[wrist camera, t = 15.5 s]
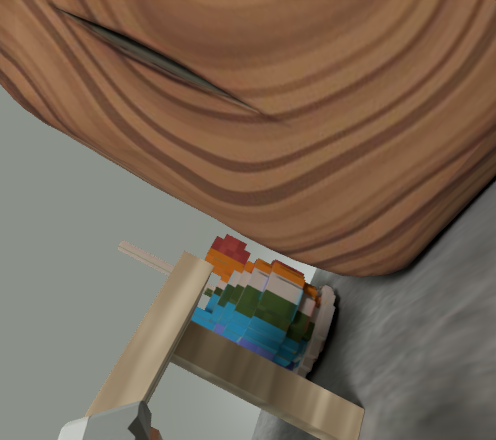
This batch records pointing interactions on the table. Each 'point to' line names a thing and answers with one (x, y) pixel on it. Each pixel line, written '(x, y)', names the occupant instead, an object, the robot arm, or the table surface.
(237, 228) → the brown wooden cube stool
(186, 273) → the wooden step stool
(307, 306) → the toy
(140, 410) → the robot arm
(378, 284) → the table surface
